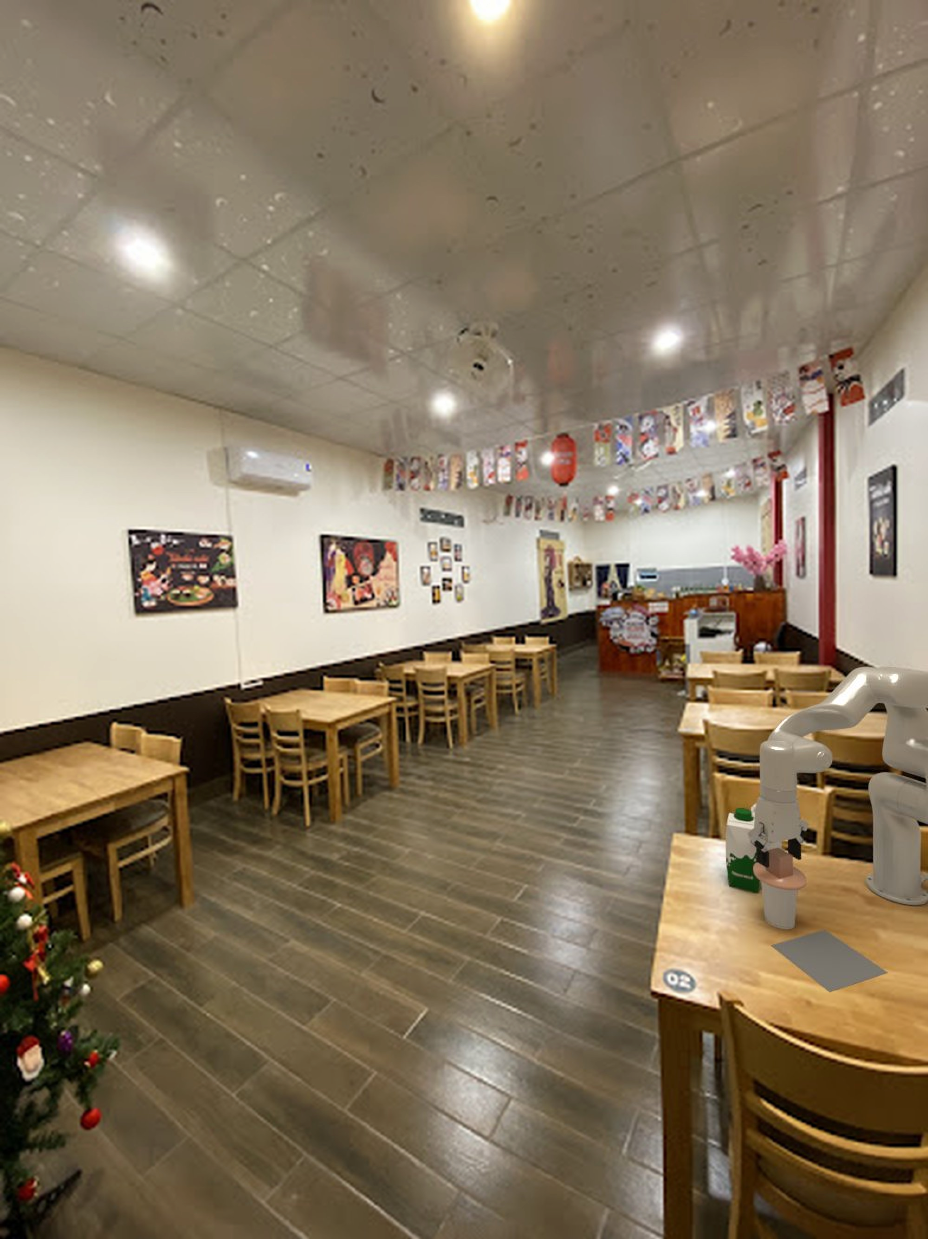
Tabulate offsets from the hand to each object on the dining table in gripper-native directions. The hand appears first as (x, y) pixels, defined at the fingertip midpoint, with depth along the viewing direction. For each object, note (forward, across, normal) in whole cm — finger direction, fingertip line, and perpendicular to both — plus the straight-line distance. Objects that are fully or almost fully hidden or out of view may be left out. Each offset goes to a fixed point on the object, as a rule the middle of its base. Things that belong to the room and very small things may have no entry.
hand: (778, 860), depth 122 cm
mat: (+16, +1, +13) cm, 21 cm away
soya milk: (+16, -5, -16) cm, 23 cm away
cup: (+16, 0, 0) cm, 16 cm away
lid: (+4, 0, 0) cm, 4 cm away
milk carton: (+16, -19, -22) cm, 33 cm away
